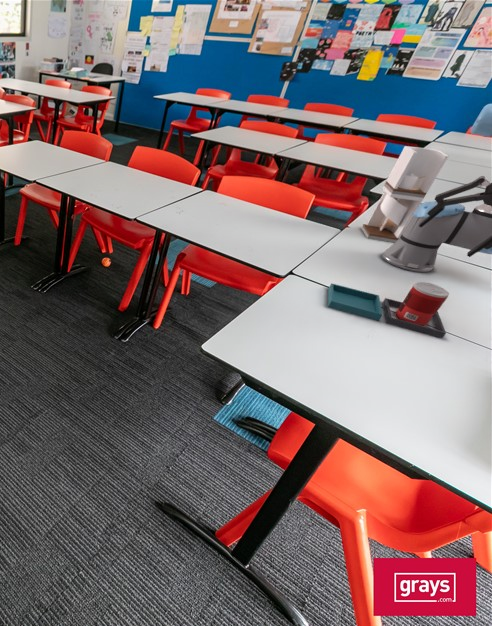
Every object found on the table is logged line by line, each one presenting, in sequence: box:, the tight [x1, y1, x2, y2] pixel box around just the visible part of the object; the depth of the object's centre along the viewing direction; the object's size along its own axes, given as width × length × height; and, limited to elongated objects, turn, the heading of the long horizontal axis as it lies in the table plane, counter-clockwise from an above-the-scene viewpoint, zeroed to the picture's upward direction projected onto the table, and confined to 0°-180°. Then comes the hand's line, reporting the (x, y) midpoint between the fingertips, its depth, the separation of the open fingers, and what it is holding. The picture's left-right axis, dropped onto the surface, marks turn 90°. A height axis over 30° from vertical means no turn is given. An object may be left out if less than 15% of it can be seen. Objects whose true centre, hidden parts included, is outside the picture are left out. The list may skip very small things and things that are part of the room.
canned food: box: [394, 281, 450, 326], centre depth 124 cm, size 8×8×11 cm
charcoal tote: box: [381, 297, 447, 339], centre depth 126 cm, size 13×13×2 cm
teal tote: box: [327, 283, 384, 322], centre depth 132 cm, size 13×13×2 cm
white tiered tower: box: [360, 145, 449, 244], centre depth 171 cm, size 11×11×35 cm
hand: (444, 239), depth 118 cm, fingers open, 13 cm apart
